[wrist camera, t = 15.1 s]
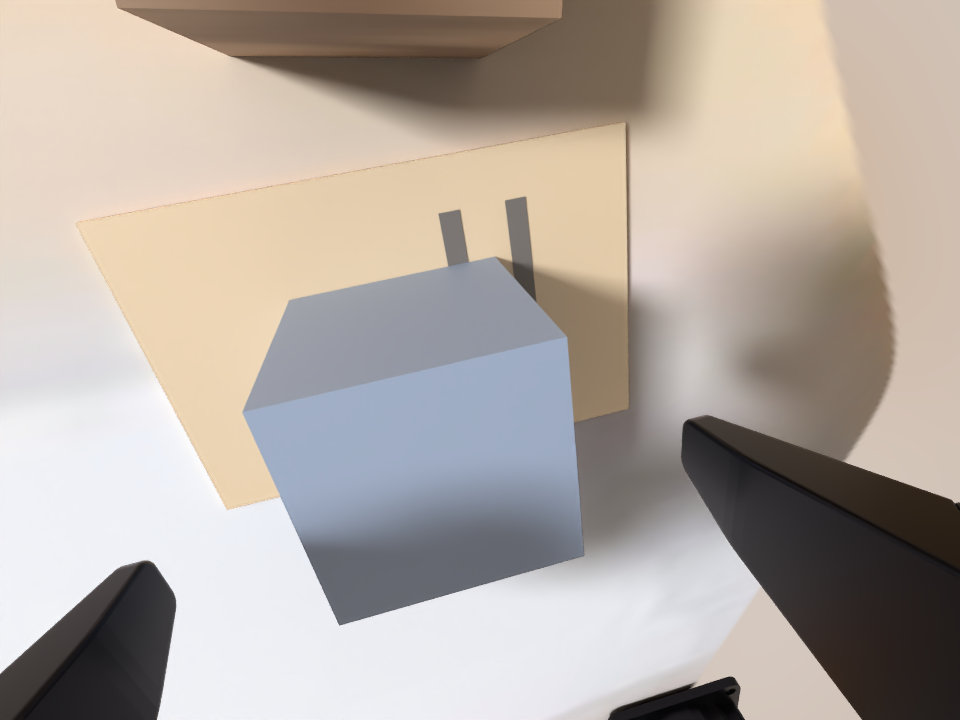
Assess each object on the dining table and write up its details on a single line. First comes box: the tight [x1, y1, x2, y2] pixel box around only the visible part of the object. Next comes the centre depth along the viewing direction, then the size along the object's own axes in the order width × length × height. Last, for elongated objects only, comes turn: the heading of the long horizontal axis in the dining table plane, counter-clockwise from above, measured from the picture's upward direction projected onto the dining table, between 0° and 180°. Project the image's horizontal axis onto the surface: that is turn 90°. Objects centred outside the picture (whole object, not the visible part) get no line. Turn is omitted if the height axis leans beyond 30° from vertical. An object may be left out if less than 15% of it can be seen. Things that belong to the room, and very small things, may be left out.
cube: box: [242, 257, 584, 625], centre depth 11 cm, size 5×5×5 cm
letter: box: [75, 122, 629, 510], centre depth 13 cm, size 12×8×1 cm, turn 99°
